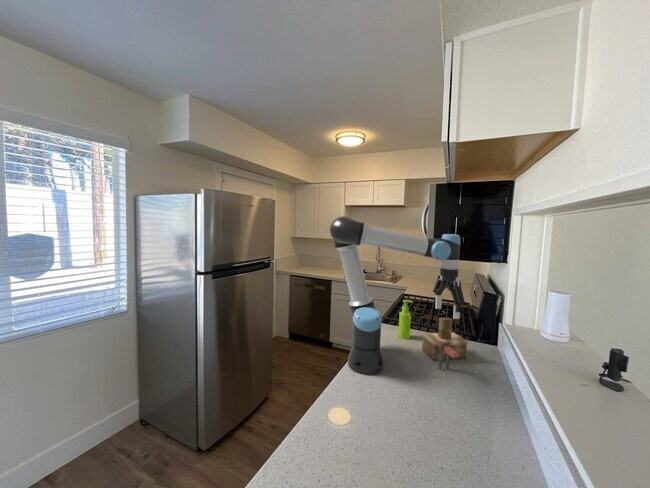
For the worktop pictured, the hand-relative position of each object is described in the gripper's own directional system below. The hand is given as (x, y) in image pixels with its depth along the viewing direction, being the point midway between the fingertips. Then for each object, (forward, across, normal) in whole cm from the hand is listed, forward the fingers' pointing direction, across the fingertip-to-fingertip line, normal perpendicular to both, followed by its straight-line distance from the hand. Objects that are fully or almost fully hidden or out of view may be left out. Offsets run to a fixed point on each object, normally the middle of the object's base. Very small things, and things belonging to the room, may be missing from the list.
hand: (446, 313), depth 126 cm
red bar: (+11, -13, +8) cm, 19 cm away
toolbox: (+20, -3, +1) cm, 20 cm away
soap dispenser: (+20, +20, +10) cm, 30 cm away
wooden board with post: (+13, 0, 0) cm, 13 cm away
